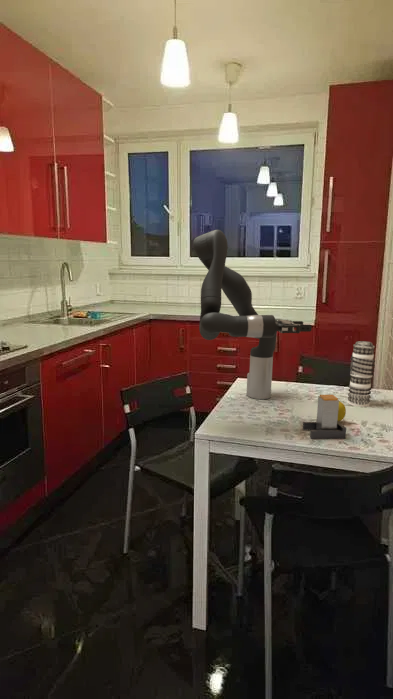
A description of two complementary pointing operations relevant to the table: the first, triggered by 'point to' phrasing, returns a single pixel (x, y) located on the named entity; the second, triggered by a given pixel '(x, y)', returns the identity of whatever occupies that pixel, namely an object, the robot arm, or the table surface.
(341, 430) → the channel
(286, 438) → the table surface
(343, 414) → the lemon
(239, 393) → the table surface
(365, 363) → the decorative candle
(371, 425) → the table surface
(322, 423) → the block
